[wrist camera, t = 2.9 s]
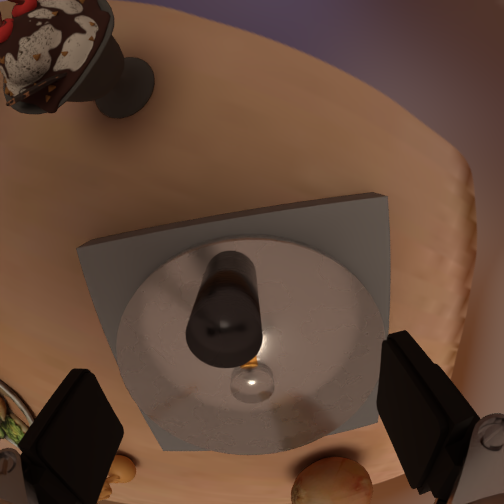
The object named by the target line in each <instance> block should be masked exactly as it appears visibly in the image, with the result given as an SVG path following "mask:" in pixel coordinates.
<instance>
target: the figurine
mask: <svg viewBox="0 0 504 504" xmlns="http://www.w3.org/2000/svg"><path fill="white" fill-rule="evenodd" d="M108 475H109V477H108V478H106V480H105V483H104V485H103V488H102V491H101V493H100V496H99V499H98V501H99V500H104V499H107V498H109V497H110V494H111V493H112V489H111V487H110V485H109V484H110V483H118V482H120V483H127V482H130V481H131V480H132V479H133V478H134V477H135V475H136V468H135V465H134V463H133V462H132V461H131V460H130V459H129V458H127V457H126V456H123V455H115V457H114V460H113V462H112V465H111V467H110V470H109V473H108ZM97 504H98V503H97Z"/></svg>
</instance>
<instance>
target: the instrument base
mask: <svg viewBox="0 0 504 504" xmlns="http://www.w3.org/2000/svg"><path fill="white" fill-rule="evenodd" d="M246 234H250V235H271V236H277V237H283V238H289V239H292V240H295V241H299V242H302V243H305V244H308V245H310V246H312V247H315V248H317V249H319V250H321V251H323V252H325V253H327V254H328V255H330V256H331V257H333V258H334V259H336V260H337V261H339V262H340V263H341V264H343V265H344V266H345V267H346V268H347V269H348V270H349V271H350V272H351V273H353V275H354V276H355V277H356V278H357V279H358V280H359V281H360V282H361V283H362V285H363V286H364V287H365V288H366V290H367V291H368V292H369V293H370V295H371V296H372V298H373V300H374V302H375V304H376V305H377V307H378V309H379V312H380V315H381V318H382V321H383V325H384V331H385V340H387V336H388V330H389V311H390V227H389V209H388V196H385V195H381V194H377V193H374V192H372V193H364V194H356V195H348V196H340V197H332V198H325V199H318V200H310V201H303V202H296V203H290V204H283V205H276V206H270V207H263V208H257V209H251V210H245V211H239V212H233V213H227V214H221V215H215V216H209V217H204V218H198V219H193V220H187V221H182V222H176V223H171V224H166V225H161V226H156V227H150V228H145V229H140V230H135V231H131V232H126V233H121V234H116V235H111V236H107V237H102V238H97V239H93V240H90V241H88V242H87V243H85V244H83V245H81V246H80V247H78V248H76V250H77V253H78V257H79V260H80V264H81V267H82V270H83V274H84V277H85V280H86V283H87V286H88V289H89V292H90V295H91V298H92V301H93V304H94V307H95V309H96V312H97V315H98V318H99V320H100V323H101V325H102V328H103V331H104V333H105V336H106V338H107V341H108V343H109V345H110V348H111V350H112V352H113V355H114V357H115V359H116V362H117V364H118V361H117V350H116V343H117V332H118V328H119V325H120V321H121V317H122V315H123V313H124V311H125V309H126V306H127V304H128V303H129V301H130V300H131V298H132V297H133V295H134V294H135V292H136V291H137V289H138V288H139V287H140V286H141V284H142V283H143V282H144V281H145V280H146V279H147V277H148V276H149V275H150V274H151V273H152V272H153V271H154V270H155V269H156V268H158V267H159V266H160V265H161V264H163V263H164V262H165V261H167V260H168V259H169V258H171V257H173V256H174V255H176V254H178V253H180V252H182V251H183V250H185V249H187V248H189V247H192V246H195V245H197V244H200V243H203V242H205V241H209V240H213V239H217V238H222V237H226V236H236V235H246ZM378 383H379V379H378V381H377V383H376V385H375V387H374V389H373V391H372V392H371V394H370V395H369V397H368V398H367V400H366V401H365V402H364V404H363V405H362V406H361V407H360V408H359V409H358V411H357V412H356V413H355V414H354V415H353V416H351V417H350V418H349V419H348V420H347V421H346V422H345V423H343V424H342V425H341V426H339V427H338V428H337V429H335V430H334V431H332V432H330V433H329V434H327V435H332V434H336V433H340V432H344V431H349V430H352V429H356V428H360V427H364V426H367V425H371V424H374V423H377V422H378V416H379V413H378V410H377V406H376V400H377V392H378ZM138 407H139V406H138ZM139 409H140V407H139ZM140 411H141V413H142V414H143V416H144V418H145V420H146V422H147V424H148V425H149V427H150V429H151V431H152V432H153V434H154V436H155V438H156V439H157V441H158V443H159V444H160V446H161V448H162V449H163V451H210V450H208V449H204V448H201V447H198V446H195V445H193V444H190V443H188V442H185V441H183V440H181V439H179V438H177V437H175V436H173V435H172V434H170V433H169V432H167V431H166V430H164V429H162V428H161V427H160V426H158V425H157V424H156V423H155V422H154V421H152V420H151V419H150V418H149V417H148V416H147V415H146V414H145V413H144V412H143V411H142V410H141V409H140ZM327 435H325V436H327Z"/></svg>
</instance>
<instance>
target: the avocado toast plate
mask: <svg viewBox="0 0 504 504" xmlns="http://www.w3.org/2000/svg"><path fill="white" fill-rule="evenodd" d="M3 395H5V396H8V397H9V398H11V399H12V400H13V401H14V402H15V403H16V405H17V406H18V407H19V409H20V410H21V411H22V412H23V414H24V415H25V416H26V418H27V420H28V422H29V425H30V426H31V424H32V423H33V421H34V419H33V417H32V416H31V414H30V412H29V410H28V408H27V407H26V406H25V404H24V403H23V402H22V401H21V399H20V398H19V397H18V396H17V395H16V394H15V393H14V391H13V390H12V389H10V388H9V387H8V386H7V385H6V384H5V383H4V382H2V381H1V380H0V439H4V438H5V439H7V440H8V441H9V442H11V443H12V444H14V445H15V446H16V447H18V446H17V445H18V443H19V442H20V440H21V439H22V437H23V436H24V434H25V433H26V432H27V430H28V429H29V427H28V426H27V425H26V424H25V423H23V422H22V421H21V420H20V419H19V418H18V417H17V416H16V415H15V414H14V413H13V412H12V411H11V410H10V408H9V407H8V405H7V404H6V400H5V398H4V397H3ZM18 448H19V447H18Z"/></svg>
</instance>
